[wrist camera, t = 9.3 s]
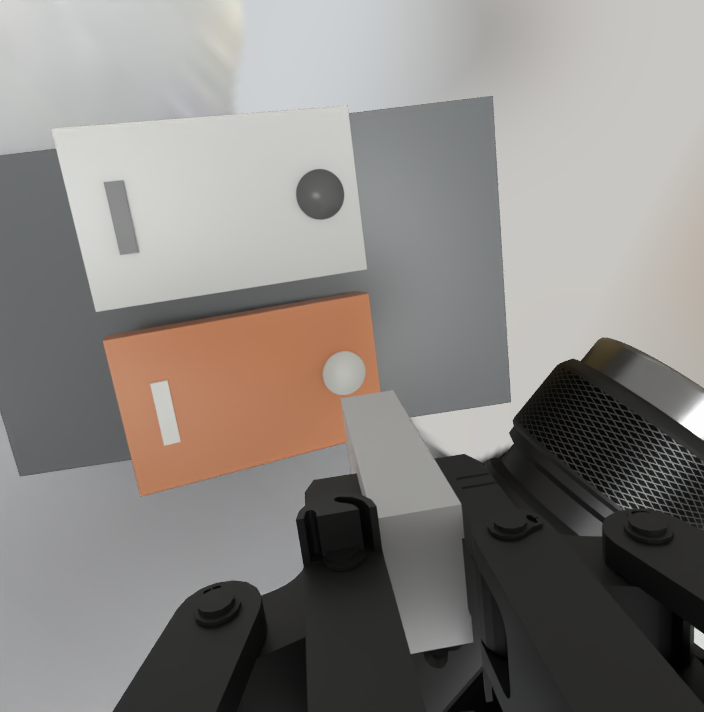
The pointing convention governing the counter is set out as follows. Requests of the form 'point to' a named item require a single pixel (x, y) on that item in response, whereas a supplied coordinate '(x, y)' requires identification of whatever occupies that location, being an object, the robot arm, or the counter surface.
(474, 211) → the switch module
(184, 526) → the counter surface
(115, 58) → the counter surface
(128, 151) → the light grey flat plate
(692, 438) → the muzzle brake
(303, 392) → the orange slotted plate
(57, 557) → the counter surface
